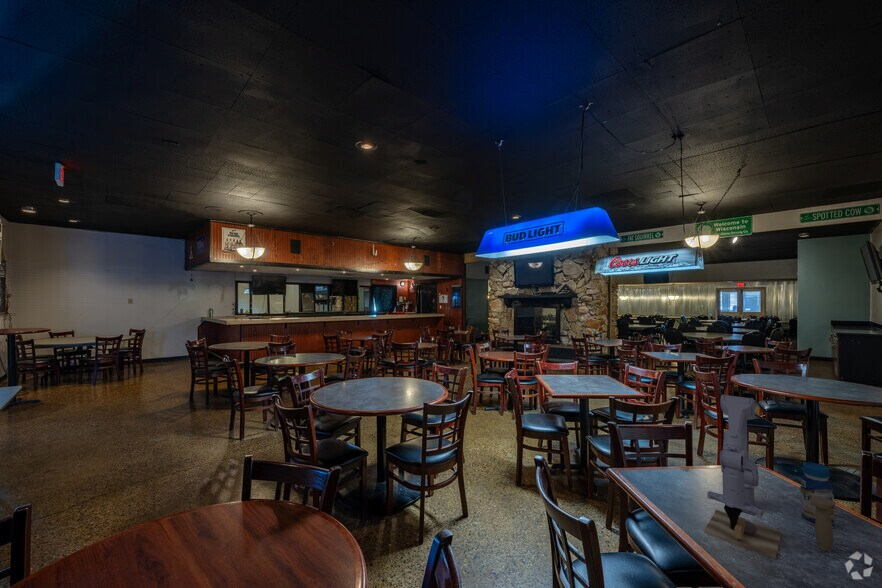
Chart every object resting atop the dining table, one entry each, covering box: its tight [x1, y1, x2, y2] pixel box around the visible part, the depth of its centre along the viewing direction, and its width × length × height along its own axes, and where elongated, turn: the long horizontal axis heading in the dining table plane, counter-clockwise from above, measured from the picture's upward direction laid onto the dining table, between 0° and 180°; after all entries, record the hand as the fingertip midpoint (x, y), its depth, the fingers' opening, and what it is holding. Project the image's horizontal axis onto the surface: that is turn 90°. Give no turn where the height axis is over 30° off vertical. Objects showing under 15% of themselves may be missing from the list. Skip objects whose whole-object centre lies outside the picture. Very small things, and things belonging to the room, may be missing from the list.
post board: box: [704, 509, 783, 561], centre depth 124 cm, size 18×18×2 cm
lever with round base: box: [735, 516, 756, 539], centre depth 122 cm, size 12×7×3 cm, turn 133°
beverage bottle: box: [799, 461, 835, 529], centre depth 131 cm, size 8×8×20 cm
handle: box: [811, 497, 836, 553], centre depth 116 cm, size 5×6×15 cm
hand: (734, 528), depth 121 cm, fingers closed, pressing on lever with round base
